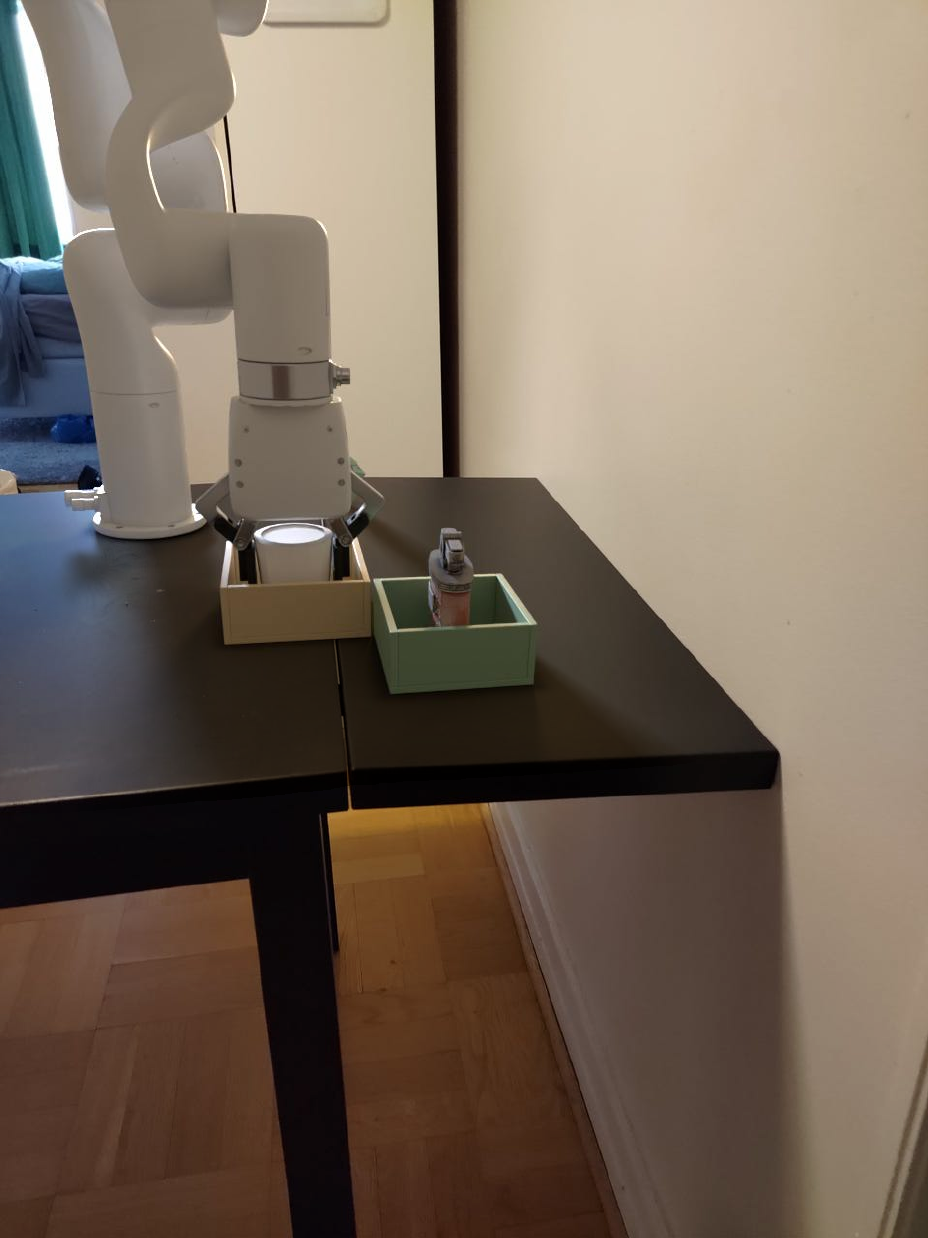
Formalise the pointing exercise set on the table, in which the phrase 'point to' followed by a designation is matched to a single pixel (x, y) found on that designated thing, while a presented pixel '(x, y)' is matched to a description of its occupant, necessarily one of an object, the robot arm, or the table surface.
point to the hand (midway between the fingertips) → (295, 584)
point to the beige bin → (295, 605)
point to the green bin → (453, 638)
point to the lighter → (450, 581)
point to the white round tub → (293, 553)
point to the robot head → (357, 470)
